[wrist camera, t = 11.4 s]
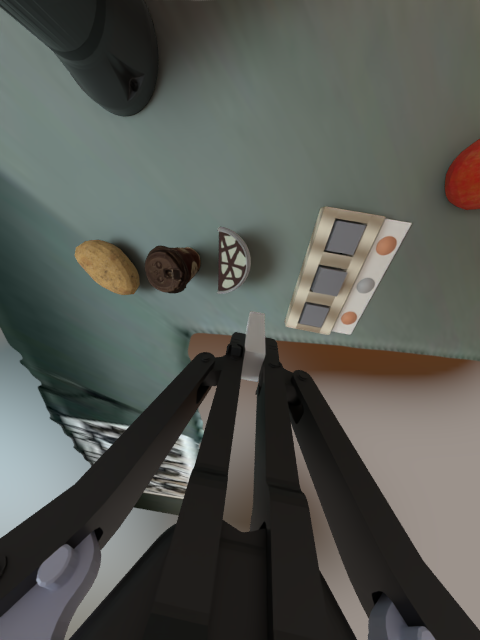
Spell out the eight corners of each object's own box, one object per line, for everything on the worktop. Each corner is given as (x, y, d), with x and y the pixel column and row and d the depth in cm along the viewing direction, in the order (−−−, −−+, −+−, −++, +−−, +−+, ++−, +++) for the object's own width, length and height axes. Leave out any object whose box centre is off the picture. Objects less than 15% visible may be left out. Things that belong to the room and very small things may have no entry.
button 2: (332, 221, 35) (338, 220, 32) (357, 225, 35) (366, 225, 32) (322, 248, 38) (327, 250, 35) (346, 253, 37) (353, 255, 35)
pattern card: (383, 218, 34) (386, 218, 34) (409, 223, 34) (412, 223, 33) (330, 329, 47) (331, 331, 46) (349, 333, 47) (350, 335, 46)
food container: (250, 284, 44) (246, 299, 35) (225, 282, 44) (216, 295, 35) (255, 229, 38) (253, 229, 29) (227, 226, 38) (217, 226, 29)
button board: (320, 208, 35) (325, 206, 32) (376, 217, 34) (385, 216, 32) (284, 321, 47) (285, 326, 44) (325, 328, 47) (329, 334, 44)
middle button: (317, 265, 38) (322, 268, 36) (341, 269, 38) (347, 272, 35) (309, 287, 41) (313, 292, 38) (331, 291, 41) (337, 296, 38)
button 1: (304, 299, 43) (307, 304, 40) (325, 303, 43) (329, 308, 40) (297, 317, 46) (300, 323, 43) (317, 321, 46) (321, 327, 43)
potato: (137, 297, 49) (116, 308, 42) (91, 256, 45) (60, 262, 38) (156, 274, 45) (137, 283, 38) (109, 228, 41) (78, 228, 34)
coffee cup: (213, 261, 42) (195, 274, 30) (193, 285, 45) (170, 305, 34) (184, 234, 40) (152, 236, 28) (165, 261, 43) (130, 273, 32)
